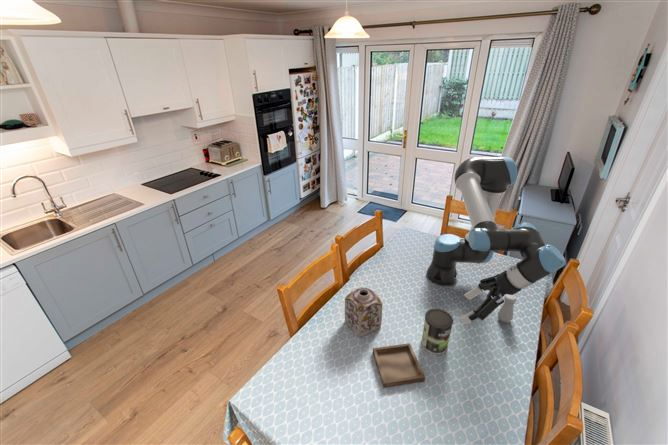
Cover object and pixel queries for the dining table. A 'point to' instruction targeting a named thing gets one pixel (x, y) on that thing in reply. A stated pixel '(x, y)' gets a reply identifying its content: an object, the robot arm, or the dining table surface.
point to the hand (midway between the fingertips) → (465, 308)
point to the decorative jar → (363, 311)
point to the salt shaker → (507, 309)
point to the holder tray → (397, 365)
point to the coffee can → (436, 331)
